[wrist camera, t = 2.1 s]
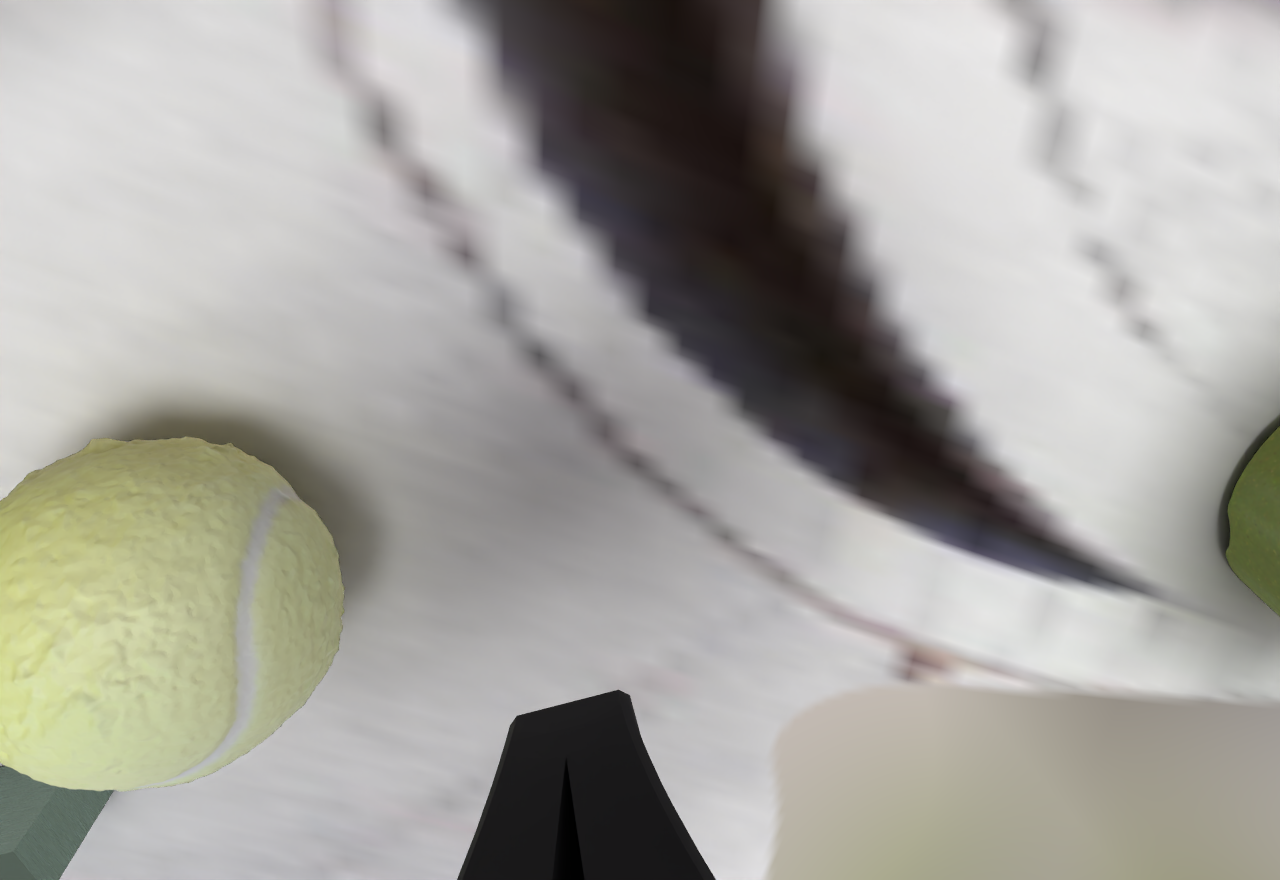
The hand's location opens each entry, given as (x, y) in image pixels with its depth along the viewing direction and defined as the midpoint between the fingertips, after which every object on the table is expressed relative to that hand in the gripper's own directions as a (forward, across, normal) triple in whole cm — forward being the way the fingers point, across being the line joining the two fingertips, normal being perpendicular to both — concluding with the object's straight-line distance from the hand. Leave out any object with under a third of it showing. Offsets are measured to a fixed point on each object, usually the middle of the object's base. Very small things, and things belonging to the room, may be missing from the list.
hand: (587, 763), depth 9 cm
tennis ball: (+10, +8, 0) cm, 12 cm away
